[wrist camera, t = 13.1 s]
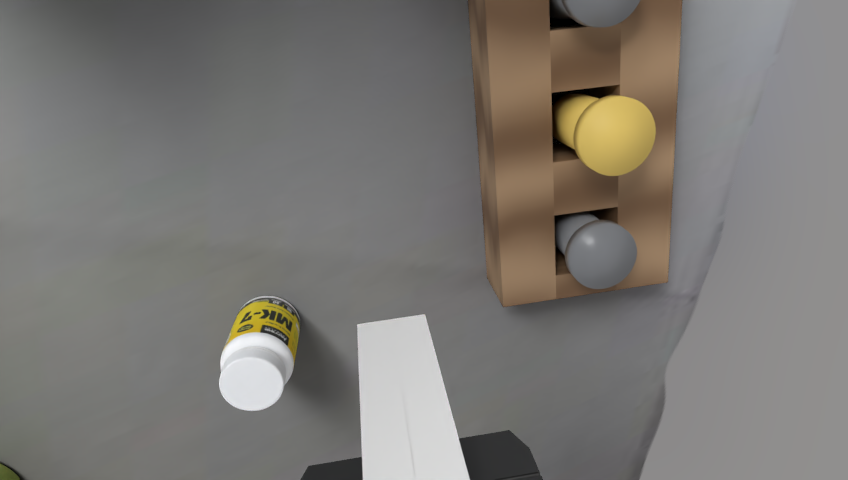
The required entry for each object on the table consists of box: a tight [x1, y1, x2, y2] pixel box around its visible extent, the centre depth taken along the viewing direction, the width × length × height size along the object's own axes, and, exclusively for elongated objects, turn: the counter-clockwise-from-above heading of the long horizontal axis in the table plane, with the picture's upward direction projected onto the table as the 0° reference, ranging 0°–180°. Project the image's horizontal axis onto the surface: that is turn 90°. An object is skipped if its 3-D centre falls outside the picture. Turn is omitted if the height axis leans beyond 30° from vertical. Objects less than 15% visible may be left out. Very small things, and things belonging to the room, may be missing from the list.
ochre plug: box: [552, 93, 656, 176], centre depth 36 cm, size 4×4×7 cm
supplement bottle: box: [219, 296, 300, 411], centre depth 41 cm, size 5×5×8 cm
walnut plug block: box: [468, 0, 682, 307], centre depth 39 cm, size 24×12×5 cm, turn 6°
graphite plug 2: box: [554, 211, 637, 289], centre depth 40 cm, size 4×4×7 cm
